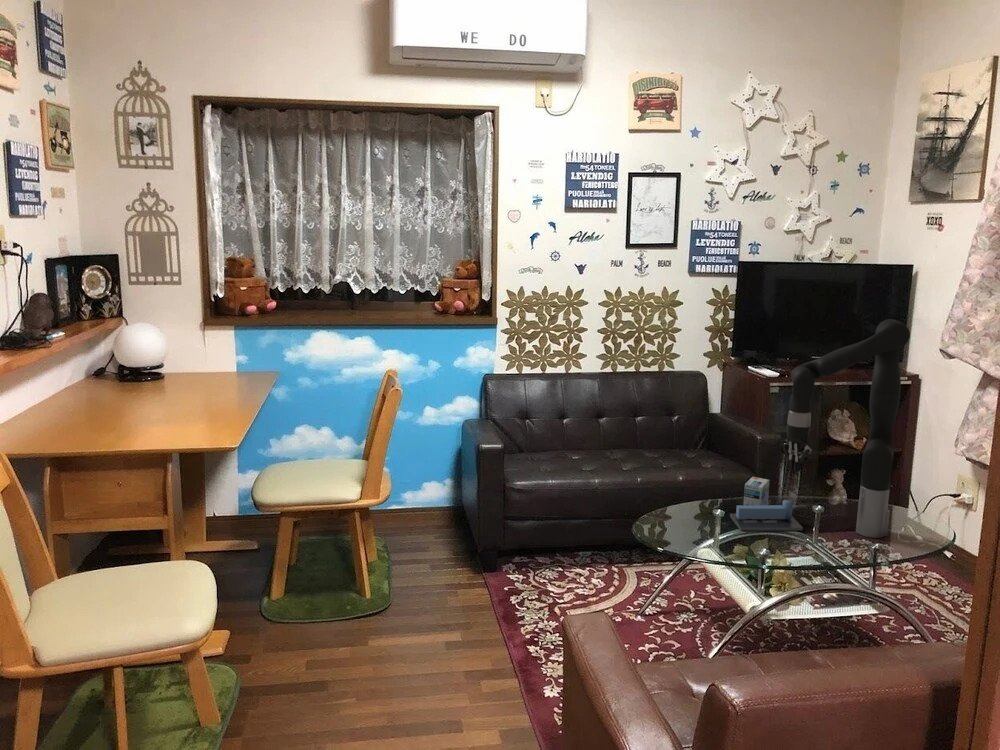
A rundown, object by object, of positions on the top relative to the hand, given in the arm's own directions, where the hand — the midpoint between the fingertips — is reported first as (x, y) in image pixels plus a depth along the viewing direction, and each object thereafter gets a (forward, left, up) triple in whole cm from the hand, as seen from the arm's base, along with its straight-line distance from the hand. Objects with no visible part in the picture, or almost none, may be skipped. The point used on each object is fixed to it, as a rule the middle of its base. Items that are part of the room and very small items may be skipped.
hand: (794, 470), depth 281 cm
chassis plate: (+8, -2, -21) cm, 23 cm away
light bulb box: (+7, -17, -21) cm, 28 cm away
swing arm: (+8, -4, -19) cm, 21 cm away
